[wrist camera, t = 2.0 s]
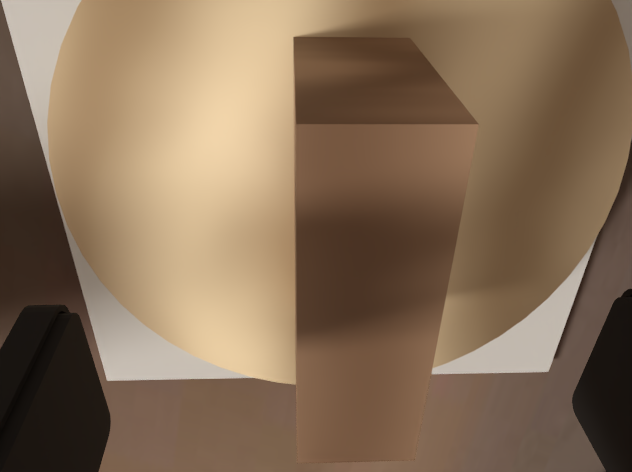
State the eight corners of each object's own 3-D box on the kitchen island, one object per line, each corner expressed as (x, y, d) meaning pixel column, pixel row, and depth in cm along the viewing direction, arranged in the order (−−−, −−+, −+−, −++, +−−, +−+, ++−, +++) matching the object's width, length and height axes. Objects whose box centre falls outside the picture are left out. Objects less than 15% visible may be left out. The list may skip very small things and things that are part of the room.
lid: (712, -145, 13) (1067, -169, 7) (539, 362, 22) (629, 535, 16) (-21, -163, 12) (-313, -207, 6) (117, 371, 21) (53, 555, 15)
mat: (725, -168, 13) (742, -170, 13) (542, 361, 23) (548, 372, 22) (-39, -188, 12) (-53, -191, 12) (111, 369, 22) (107, 380, 22)
